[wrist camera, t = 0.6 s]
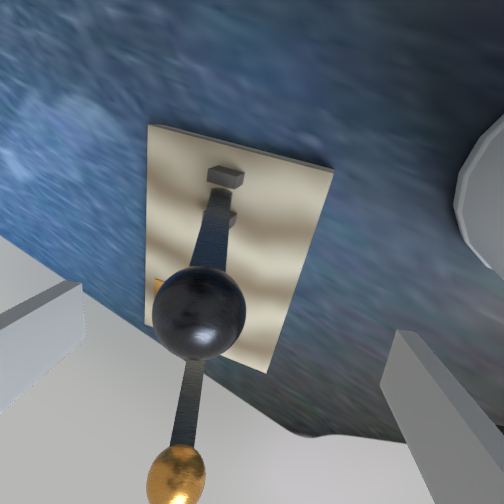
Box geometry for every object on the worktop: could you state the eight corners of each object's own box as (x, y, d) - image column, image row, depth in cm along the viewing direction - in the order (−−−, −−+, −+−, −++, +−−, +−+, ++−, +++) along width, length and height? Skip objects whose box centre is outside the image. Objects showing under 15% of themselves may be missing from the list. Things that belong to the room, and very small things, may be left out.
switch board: (161, 124, 25) (132, 124, 22) (334, 169, 22) (332, 178, 19) (154, 314, 36) (134, 334, 32) (270, 360, 33) (261, 388, 30)
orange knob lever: (187, 304, 29) (138, 502, 15) (221, 308, 29) (205, 503, 15) (184, 329, 31) (138, 527, 16) (216, 332, 31) (198, 528, 17)
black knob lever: (202, 171, 22) (138, 299, 8) (245, 179, 23) (257, 314, 9) (197, 212, 24) (138, 377, 10) (238, 219, 24) (237, 386, 10)
